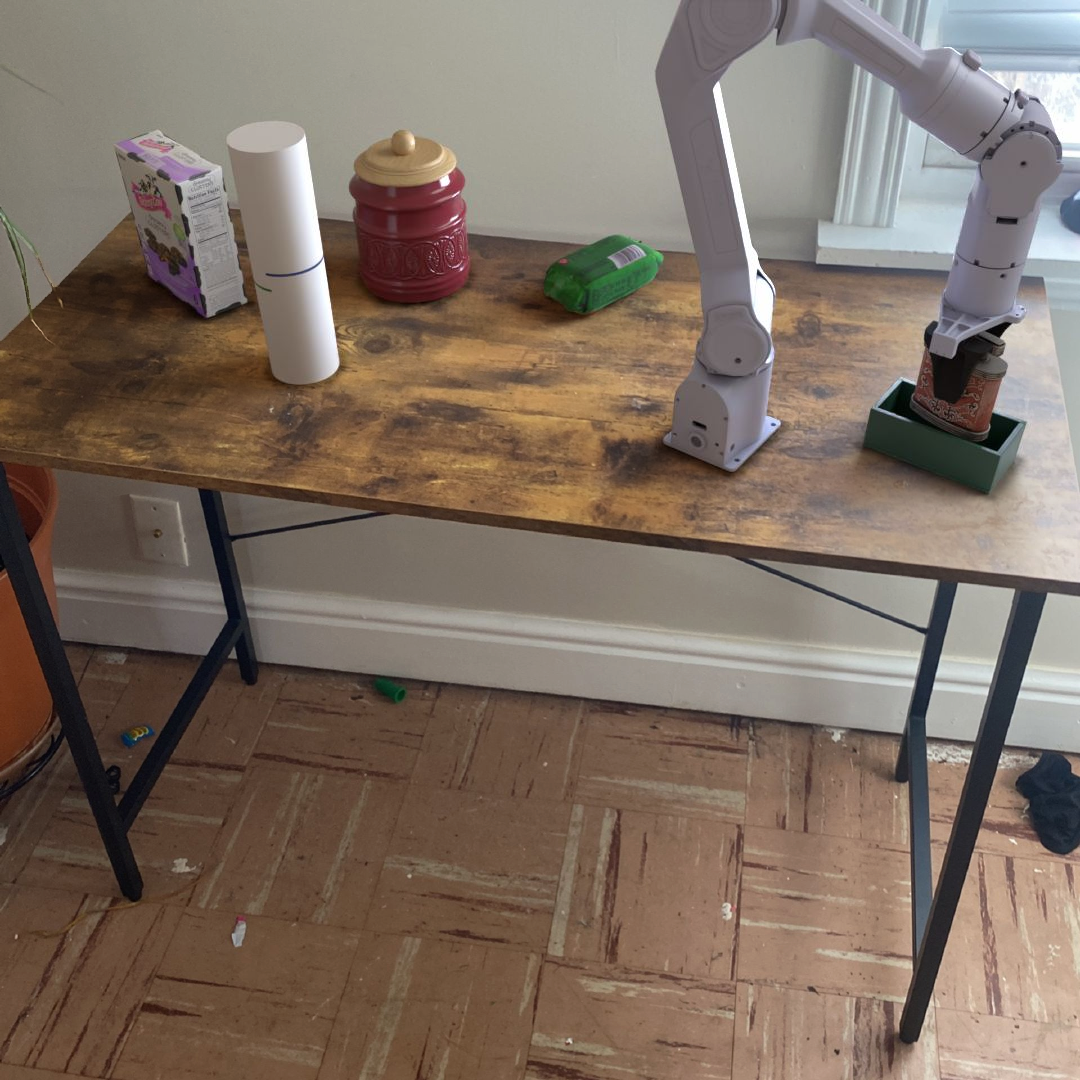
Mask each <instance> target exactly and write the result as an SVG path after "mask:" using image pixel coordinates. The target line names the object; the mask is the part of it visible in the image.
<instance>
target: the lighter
mask: <svg viewBox="0 0 1080 1080" xmlns="http://www.w3.org/2000/svg"><path fill="white" fill-rule="evenodd" d="M975 338H976V339H979V340H982V341H985V342H988V343H991V344H994V346H993V347H992V348H991V349H990V350H989V351H988V353H987V354H986V355H985V356H984V357H983V358H982V359H981V360H980V361H979V363H978V364H977V366H976V367H975V369H974V371H973V373H972V375H971V377H970V379H969V382H968V384H967V386H966V388H965V390H964V392H963V394H962V396H961V397H960V399H959V400H958V401H957V403H956V404H951V403H948V402H946V401H943V400H940V399H937V398H935V397H934V392H933V370H932V361H931V357H930V353H929V350H928V348H927V346H926V344H925V342H924V341H923V346H924V350H923V354H922V359H921V363H920V367H919V372H918V375H917V381H916V383H917V384H916V389H915V393H914V394H913V395H912V397H911V402H910V407H911V408H912V409H913V410H914V411H915V412H917V413H918V414H919V415H921V416H922V417H923V418H925V419H926V420H928V421H930V422H931V423H933V424H934V425H936V426H938V427H940V428H942V429H944V430H946V431H948V432H950V433H952V434H954V435H957V436H959V437H962V438H964V439H967V440H970V441H982V440H984V439H986V438H987V436H988V433H989V430H990V424H989V422H990V419H991V415H992V412H993V410H994V409H995V405H996V401H997V398H998V394H999V391H1000V387H1001V385H1002V380H1003V378H1004V377H1006V374H1007V371H1008V368H1009V365H1008V362H1007V361H1006V360H1004V359H1003V358H1001V357H1002V356H1003V355H1004V352H1005V350H1006V346H1007V343H1006V342H1005V340H1004V339H1002V338H1001V337H1000V338H998V337H996V336H994V335H992V334H990V333H987V332H985V331H982V332H980V333H978V334H976V336H975Z"/></svg>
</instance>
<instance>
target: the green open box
mask: <svg viewBox="0 0 1080 1080" xmlns="http://www.w3.org/2000/svg"><path fill="white" fill-rule="evenodd" d="M916 384H917V381H916V382H915V381H912V380H909V379H907V378H904V377H901V376H900V377H898V379H897V380H896V381H895V382H894V383H892V385H891V386H890V387H889V388H888V389H887V391H885V392H884V393H883V394H882V395H881V396H880V398H879V399H878V400H877V401H876V402H875V403H874V404H873V405H872V406H871V407H870V409H869V415H868V418H867V425H866V429H865V434H864V438H863V444H862V446H863V447H865V448H867V449H870V450H873V451H876V452H878V453H881V454H883V455H885V456H889V457H890V458H893V459H896V460H898V461H900V462H901V461H902V462H903V463H907V464H909V465H912V466H914V467H917V468H919V469H922V470H925V471H927V472H930V473H932V474H935V475H938V476H940V477H943V478H945V479H948V480H950V481H953V482H955V483H958V484H960V485H963V486H966V487H969V488H971V489H974V490H976V491H979V492H982V493H984V494H986V495H990V494H991V492H992V491H993V489H994V488H995V487H996V486H997V484H998V483H999V482H1000V480H1001V479H1002V477H1003V476H1004V475H1005V474H1006V472H1007V470H1009V468H1010V466H1011V465H1013V463H1014V461H1015V460H1016V457H1017V454H1018V450H1019V448H1020V445H1021V441H1022V438H1023V436H1024V432H1025V429H1026V426H1027V423H1028V421H1026V420H1023V419H1022V418H1021V419H1020V418H1018V417H1015V416H1012V415H1009V414H1006V413H1004V412H1000V411H998V410H995V409H993V412H992V415H991V419H990V422H989V424H990V430H989V433H988V436H987V438H986V439H984V440H982V441H970V440H967V439H964V438H962V437H959V436H957V435H954V434H952V433H950V432H948V431H946V430H944V429H942V428H940V427H938V426H936V425H934V424H933V423H931V422H930V421H928V420H926V419H925V418H923V417H922V416H921V415H919V414H918V413H917V412H915V411H914V410H913V409H912V408H911V407H910V402H911V397H912V395H913V394H914V393H915V389H916Z"/></svg>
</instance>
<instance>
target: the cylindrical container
mask: <svg viewBox="0 0 1080 1080" xmlns="http://www.w3.org/2000/svg"><path fill="white" fill-rule="evenodd" d="M226 146H227V150H228V155H229V160H230V165H231V171H232V176H233V181H234V186H235V192H236V197H237V202H238V206H239V211H240V217H241V222H242V227H243V232H244V238H245V243H246V247H247V248H246V249H247V253H248V258H249V262H250V267H251V273H252V278H253V283H254V287H255V293H256V298H257V303H258V308H259V313H260V318H261V319H260V320H261V323H262V328H263V332H264V333H263V334H264V338H265V343H266V347H267V348H266V349H267V354H268V359H269V363H270V369H271V372H272V375H273V376H274V377H275V379H277V380H278V381H280V382H282V383H285V384H289V385H298V386H299V385H311V384H316V383H318V382H322V381H324V380H326V379H328V378H330V377H331V376H333V375H334V374H335V373H336V372H337V371H338V369H339V367H340V357H339V350H338V345H337V344H338V343H337V337H336V331H335V325H334V324H335V323H334V317H333V312H332V311H333V310H332V304H331V298H330V289H329V284H328V277H327V270H326V264H325V258H324V251H323V244H322V238H321V231H320V230H321V229H320V223H319V217H318V211H317V204H316V198H315V192H314V185H313V178H312V172H311V171H312V170H311V164H310V158H309V151H308V144H307V138H306V131H305V130H304V128H303V127H301V126H300V125H298V124H296V123H294V122H289V121H282V120H264V121H256V122H252V123H247V124H244V125H241V126H240V127H237V128H235V129H234V130H232V131H231V132H229V134H228V135H227V136H226Z"/></svg>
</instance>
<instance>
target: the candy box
mask: <svg viewBox="0 0 1080 1080" xmlns="http://www.w3.org/2000/svg"><path fill="white" fill-rule="evenodd" d="M113 148H114V151H115V155H116V158H117V159H116V160H117V162H118V166H119V170H120V174H121V177H122V181H123V184H124V189H125V192H126V196H127V199H128V203H129V206H130V211H131V213H132V218H133V222H134V226H135V229H136V233H137V236H138V241H139V245H140V248H141V252H142V255H143V259H144V263H145V268H146V271H147V275H148V276H149V277H150V278H151V279H152V280H153V281H155V282H156V283H158V284H160V285H161V286H162V287H163V288H164V289H166V290H167V291H169V292H170V293H171V294H172V295H174V296H175V297H177V298H178V299H179V300H181V301H182V302H183V303H185V304H186V305H188V306H189V307H190V308H192V309H193V310H194V311H196V312H197V313H198V314H200V315H201V316H203V318H205V319H209V318H211V317H214V316H217V315H219V314H222V313H225V312H227V311H229V310H232V309H235V308H237V307H240V306H242V305H245V304H247V303H248V297H247V292H246V286H245V282H244V276H243V271H242V266H241V261H240V256H239V252H238V251H239V250H238V245H237V241H236V235H235V230H234V224H233V219H232V214H231V209H230V204H229V203H230V202H229V199H228V193H227V189H226V184H225V178H224V174H223V169H222V166H221V165H219V164H215V163H213V162H212V161H210V160H209V159H207V158H205V157H203V156H201V155H200V154H198V153H196V152H195V151H193V150H192V149H190V148H188V147H186V146H185V145H183V144H181V143H180V142H178V141H176V140H175V139H173V138H171V137H169V136H168V135H167V134H164V133H163V132H162V131H161V130H159V129H155V130H153V131H150V132H147V133H143V134H139V135H137V136H135V137H132V138H129V139H125V140H122V141H118V142H116V143H114V144H113Z"/></svg>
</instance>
